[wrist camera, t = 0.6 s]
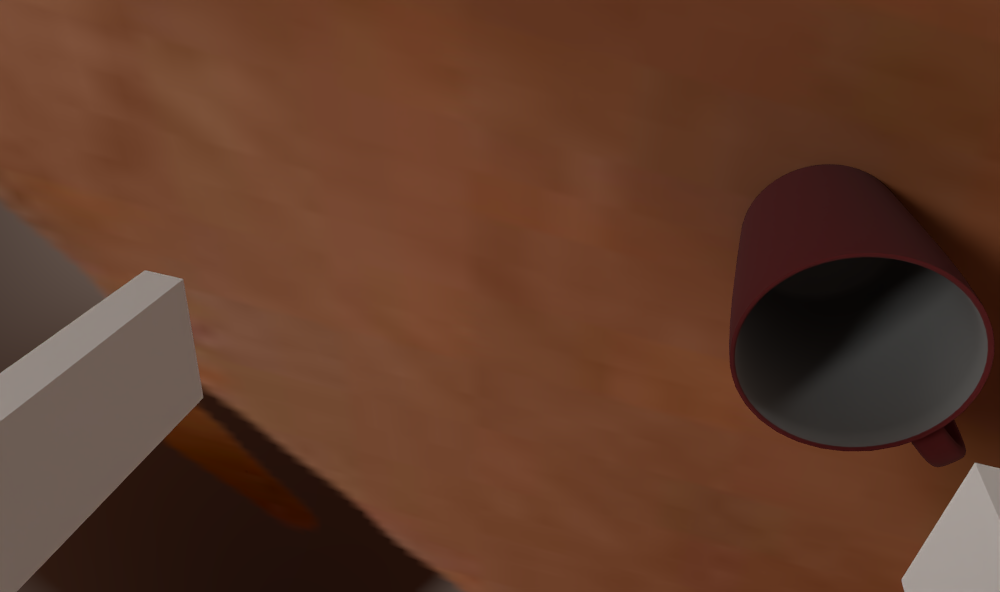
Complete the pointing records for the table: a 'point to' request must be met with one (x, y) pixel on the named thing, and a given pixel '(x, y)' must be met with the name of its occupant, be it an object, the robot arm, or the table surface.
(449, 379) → the table surface
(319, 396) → the table surface
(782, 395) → the mug
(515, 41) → the table surface
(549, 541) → the table surface
